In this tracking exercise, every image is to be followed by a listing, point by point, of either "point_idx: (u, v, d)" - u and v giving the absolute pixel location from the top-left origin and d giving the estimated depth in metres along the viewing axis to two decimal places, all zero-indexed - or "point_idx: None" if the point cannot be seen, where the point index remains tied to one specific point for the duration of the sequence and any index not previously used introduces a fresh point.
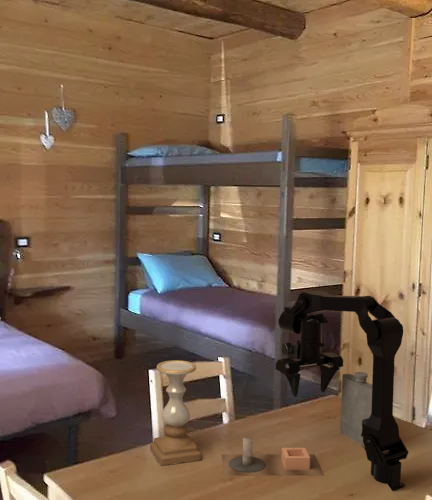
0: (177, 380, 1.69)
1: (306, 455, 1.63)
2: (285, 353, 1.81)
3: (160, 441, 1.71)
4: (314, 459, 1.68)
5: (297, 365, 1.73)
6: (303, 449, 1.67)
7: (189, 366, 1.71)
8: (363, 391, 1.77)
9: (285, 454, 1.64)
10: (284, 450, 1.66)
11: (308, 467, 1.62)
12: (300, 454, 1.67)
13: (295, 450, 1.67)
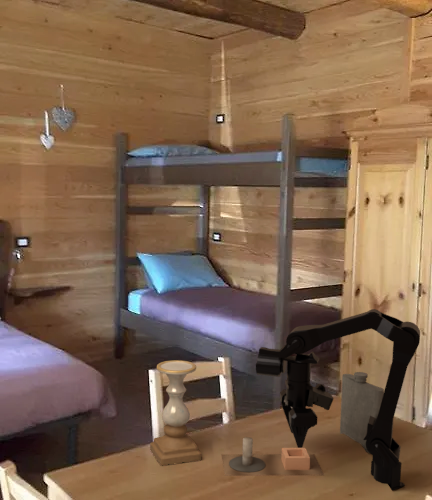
0: (177, 380, 1.69)
1: (306, 455, 1.63)
2: None
3: (160, 441, 1.71)
4: (314, 459, 1.68)
5: (282, 395, 1.69)
6: (303, 449, 1.67)
7: (189, 366, 1.71)
8: (363, 391, 1.77)
9: (285, 454, 1.64)
10: (284, 450, 1.66)
11: (308, 467, 1.62)
12: (300, 454, 1.67)
13: (295, 450, 1.67)
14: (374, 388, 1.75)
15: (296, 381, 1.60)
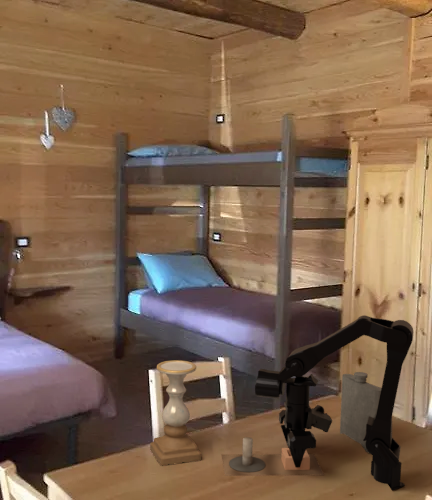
0: (177, 380, 1.69)
1: (306, 455, 1.63)
2: None
3: (160, 441, 1.71)
4: (314, 459, 1.68)
5: (281, 416, 1.70)
6: None
7: (189, 366, 1.71)
8: (363, 391, 1.77)
9: (285, 454, 1.64)
10: (284, 450, 1.66)
11: (308, 467, 1.62)
12: None
13: None
14: (374, 388, 1.75)
15: (295, 403, 1.60)
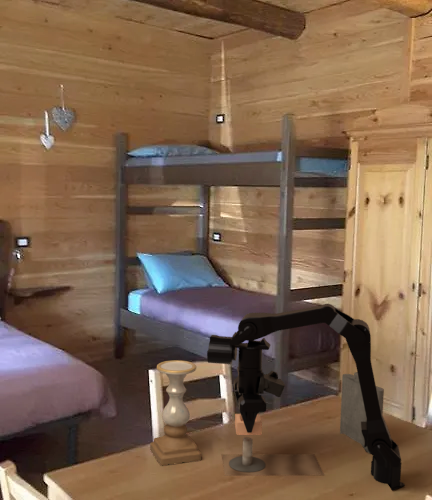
0: (177, 380, 1.69)
1: (259, 420, 1.62)
2: None
3: (160, 441, 1.71)
4: (314, 459, 1.68)
5: (235, 382, 1.68)
6: (257, 415, 1.65)
7: (189, 366, 1.71)
8: None
9: (237, 419, 1.62)
10: (237, 416, 1.64)
11: (260, 432, 1.60)
12: None
13: None
14: None
15: (247, 368, 1.59)
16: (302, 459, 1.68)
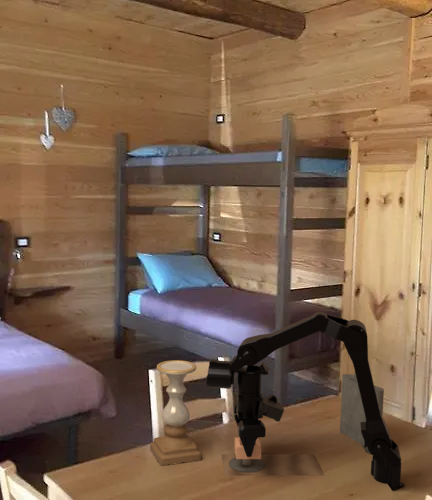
0: (177, 380, 1.69)
1: (258, 444, 1.62)
2: None
3: (160, 441, 1.71)
4: (314, 459, 1.68)
5: (235, 406, 1.69)
6: None
7: (189, 366, 1.71)
8: None
9: (237, 443, 1.63)
10: (237, 440, 1.65)
11: (260, 456, 1.61)
12: None
13: None
14: None
15: (246, 392, 1.60)
16: (302, 459, 1.68)
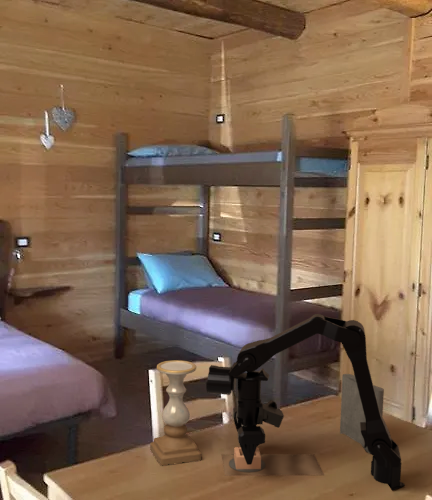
0: (177, 380, 1.69)
1: (258, 454, 1.63)
2: None
3: (160, 441, 1.71)
4: (314, 459, 1.68)
5: (234, 411, 1.69)
6: (256, 448, 1.66)
7: (189, 366, 1.71)
8: None
9: (237, 453, 1.63)
10: (236, 449, 1.65)
11: (259, 466, 1.61)
12: None
13: None
14: (374, 388, 1.75)
15: (246, 399, 1.60)
16: (302, 459, 1.68)
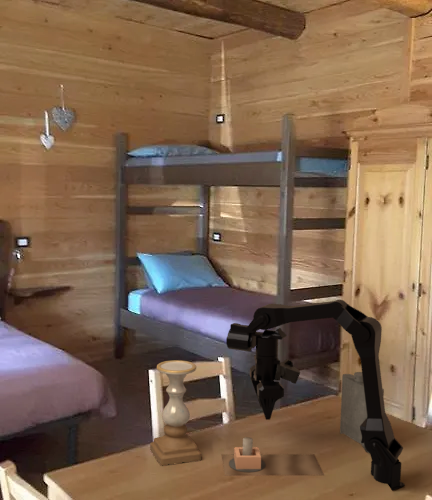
0: (177, 380, 1.69)
1: (258, 454, 1.63)
2: None
3: (160, 441, 1.71)
4: (314, 459, 1.68)
5: (252, 370, 1.76)
6: (256, 448, 1.66)
7: (189, 366, 1.71)
8: (363, 391, 1.77)
9: (237, 453, 1.63)
10: (236, 449, 1.65)
11: (259, 466, 1.61)
12: (253, 453, 1.66)
13: None
14: None
15: (264, 356, 1.67)
16: (302, 459, 1.68)
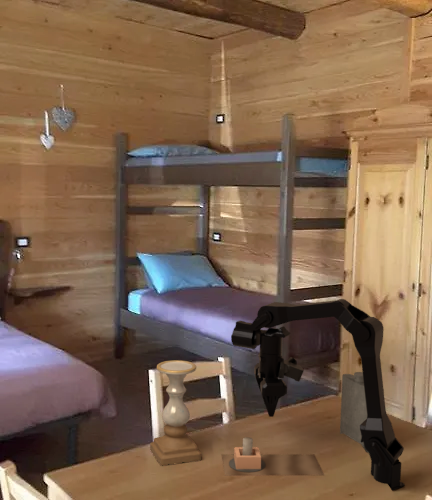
0: (177, 380, 1.69)
1: (258, 454, 1.63)
2: None
3: (160, 441, 1.71)
4: (314, 459, 1.68)
5: (256, 368, 1.78)
6: (256, 448, 1.66)
7: (189, 366, 1.71)
8: (363, 391, 1.77)
9: (237, 453, 1.63)
10: (236, 449, 1.65)
11: (259, 466, 1.61)
12: (253, 453, 1.66)
13: None
14: None
15: (268, 353, 1.68)
16: (302, 459, 1.68)
